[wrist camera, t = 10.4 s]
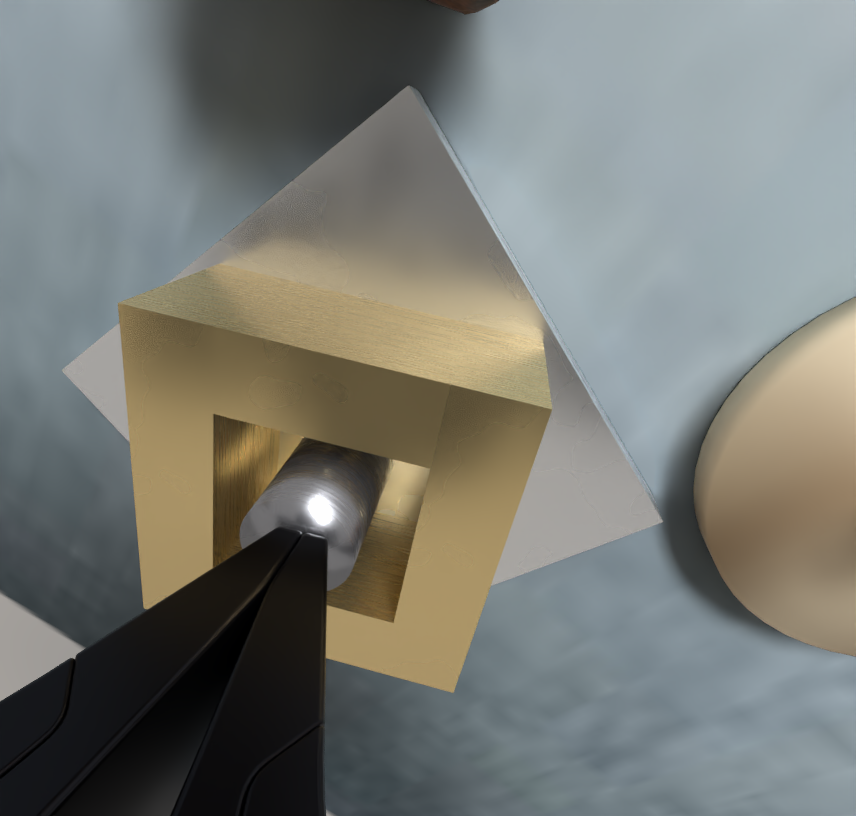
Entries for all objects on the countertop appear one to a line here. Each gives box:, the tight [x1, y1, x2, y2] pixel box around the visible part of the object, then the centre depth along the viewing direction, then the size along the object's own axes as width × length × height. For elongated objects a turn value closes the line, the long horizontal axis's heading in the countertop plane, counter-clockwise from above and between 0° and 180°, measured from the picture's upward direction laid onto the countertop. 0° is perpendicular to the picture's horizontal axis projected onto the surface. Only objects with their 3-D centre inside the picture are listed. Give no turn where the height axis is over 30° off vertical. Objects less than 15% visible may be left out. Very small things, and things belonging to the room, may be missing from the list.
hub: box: [62, 85, 663, 591], centre depth 11 cm, size 10×10×4 cm
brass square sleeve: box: [118, 264, 552, 693], centre depth 11 cm, size 7×7×3 cm
